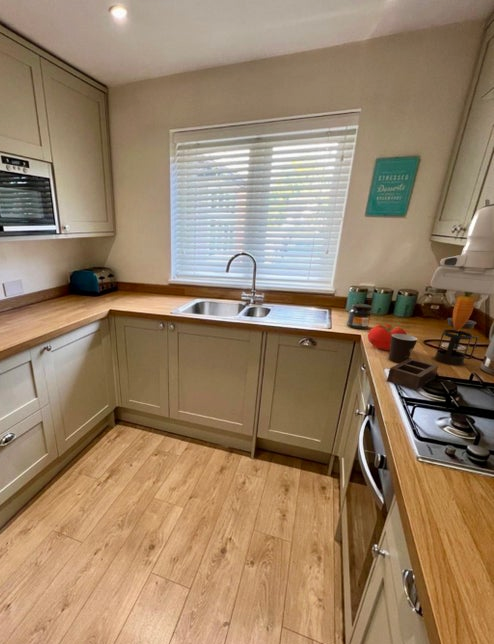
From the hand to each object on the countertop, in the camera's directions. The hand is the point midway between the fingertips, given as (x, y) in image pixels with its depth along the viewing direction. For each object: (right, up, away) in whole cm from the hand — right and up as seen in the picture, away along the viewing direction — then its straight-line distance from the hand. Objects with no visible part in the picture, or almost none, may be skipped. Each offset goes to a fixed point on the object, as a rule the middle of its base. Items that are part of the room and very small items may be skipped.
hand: (464, 306), depth 104 cm
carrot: (0, -8, +3) cm, 8 cm away
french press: (+19, -18, +28) cm, 39 cm away
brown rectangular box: (-10, -24, +10) cm, 28 cm away
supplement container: (+5, -1, +74) cm, 74 cm away
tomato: (+1, -13, +42) cm, 44 cm away
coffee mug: (-1, -18, +28) cm, 33 cm away
